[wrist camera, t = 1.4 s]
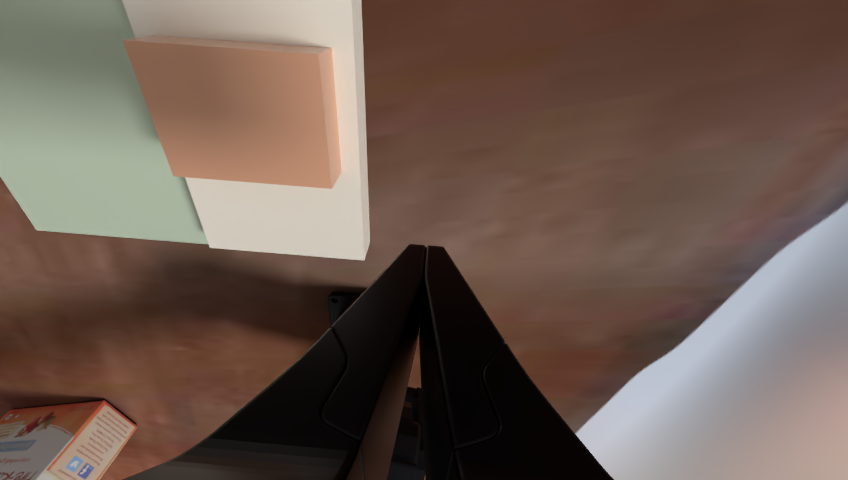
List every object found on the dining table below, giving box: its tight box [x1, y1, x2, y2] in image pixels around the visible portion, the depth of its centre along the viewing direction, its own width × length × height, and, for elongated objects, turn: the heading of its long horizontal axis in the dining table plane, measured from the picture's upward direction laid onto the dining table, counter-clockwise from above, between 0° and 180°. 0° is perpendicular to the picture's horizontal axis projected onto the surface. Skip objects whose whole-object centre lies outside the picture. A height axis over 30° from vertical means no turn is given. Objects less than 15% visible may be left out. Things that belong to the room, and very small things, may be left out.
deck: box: [122, 0, 370, 260], centre depth 19 cm, size 18×10×2 cm, turn 177°
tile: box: [123, 35, 342, 189], centre depth 17 cm, size 6×8×2 cm
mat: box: [0, 0, 208, 244], centre depth 19 cm, size 20×13×1 cm, turn 177°
